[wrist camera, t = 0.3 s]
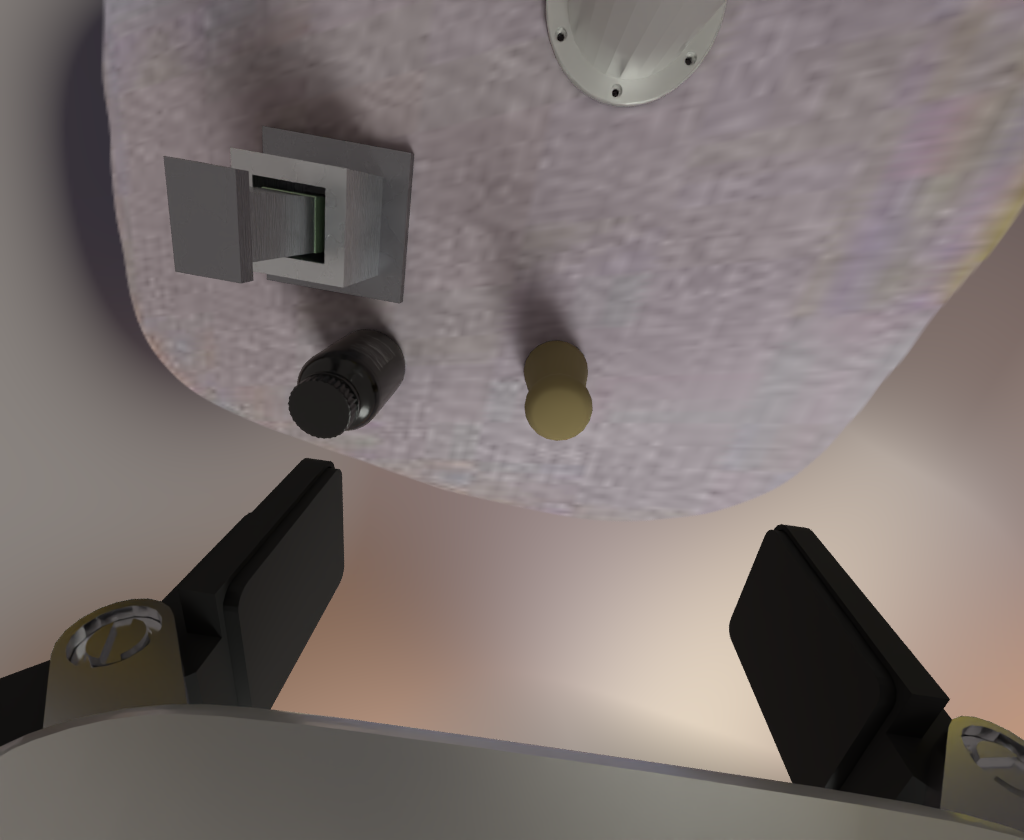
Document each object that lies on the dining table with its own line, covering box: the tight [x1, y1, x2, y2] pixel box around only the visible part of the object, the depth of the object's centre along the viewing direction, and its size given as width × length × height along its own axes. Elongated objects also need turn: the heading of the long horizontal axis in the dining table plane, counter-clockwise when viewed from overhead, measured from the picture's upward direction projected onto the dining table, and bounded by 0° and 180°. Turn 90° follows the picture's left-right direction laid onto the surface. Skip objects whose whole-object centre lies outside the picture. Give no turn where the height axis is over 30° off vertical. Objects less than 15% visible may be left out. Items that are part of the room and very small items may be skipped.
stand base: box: [230, 126, 414, 303], centre depth 38 cm, size 12×12×9 cm
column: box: [164, 156, 325, 283], centre depth 33 cm, size 6×4×17 cm, turn 170°
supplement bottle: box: [288, 329, 405, 439], centre depth 41 cm, size 7×7×12 cm
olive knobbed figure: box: [524, 341, 592, 441], centre depth 41 cm, size 6×6×11 cm
